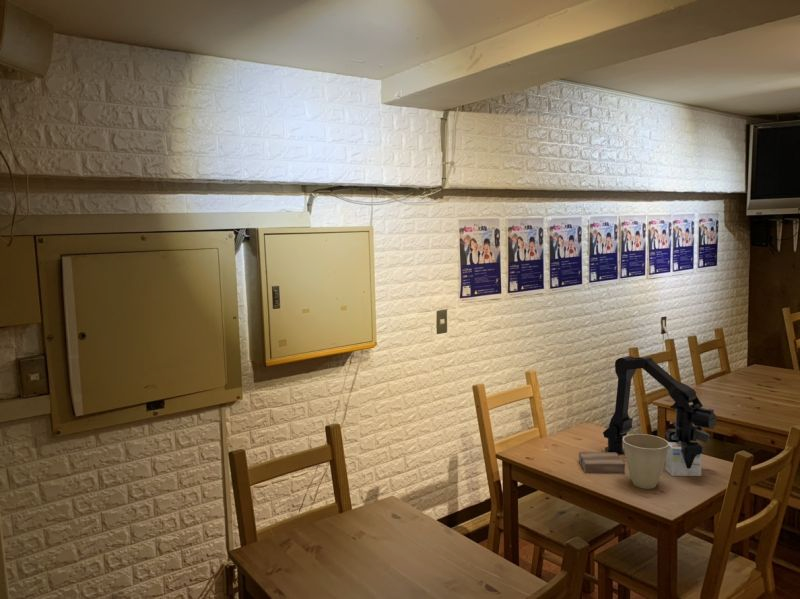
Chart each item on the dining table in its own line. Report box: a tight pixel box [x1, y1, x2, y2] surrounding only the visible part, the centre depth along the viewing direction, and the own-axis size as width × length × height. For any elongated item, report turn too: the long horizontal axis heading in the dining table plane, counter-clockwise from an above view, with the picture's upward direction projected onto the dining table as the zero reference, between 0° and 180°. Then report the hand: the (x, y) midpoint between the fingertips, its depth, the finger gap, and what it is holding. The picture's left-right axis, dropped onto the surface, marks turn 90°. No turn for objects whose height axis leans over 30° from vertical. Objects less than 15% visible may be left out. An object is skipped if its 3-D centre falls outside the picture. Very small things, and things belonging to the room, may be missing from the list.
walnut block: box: [578, 451, 626, 475], centre depth 229 cm, size 12×14×4 cm
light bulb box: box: [665, 441, 703, 477], centre depth 221 cm, size 11×7×11 cm, turn 84°
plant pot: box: [623, 433, 669, 490], centre depth 212 cm, size 15×15×16 cm
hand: (683, 463), depth 221 cm, fingers open, 9 cm apart
